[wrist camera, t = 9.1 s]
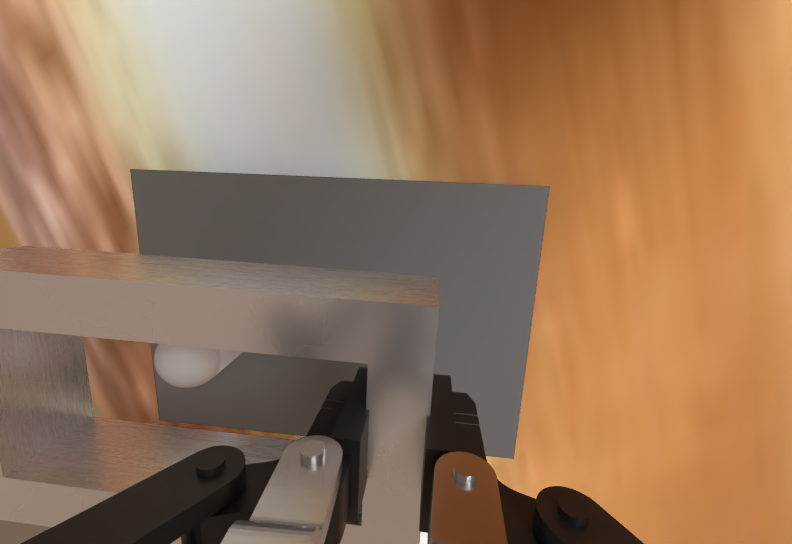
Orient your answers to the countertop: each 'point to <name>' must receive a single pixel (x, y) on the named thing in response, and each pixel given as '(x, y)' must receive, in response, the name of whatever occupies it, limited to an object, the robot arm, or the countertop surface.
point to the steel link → (204, 328)
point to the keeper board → (351, 250)
